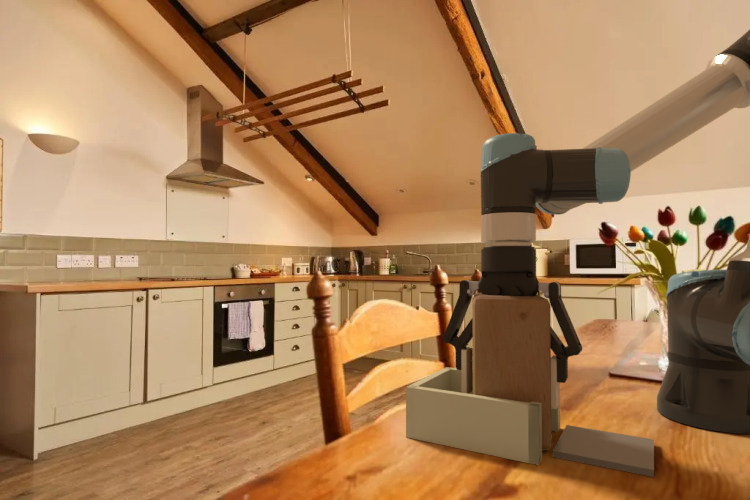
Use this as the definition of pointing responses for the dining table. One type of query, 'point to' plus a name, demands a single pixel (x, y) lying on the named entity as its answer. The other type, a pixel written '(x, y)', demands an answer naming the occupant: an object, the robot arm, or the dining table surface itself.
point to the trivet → (606, 450)
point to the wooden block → (513, 351)
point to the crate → (474, 419)
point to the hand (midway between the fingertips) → (509, 399)
